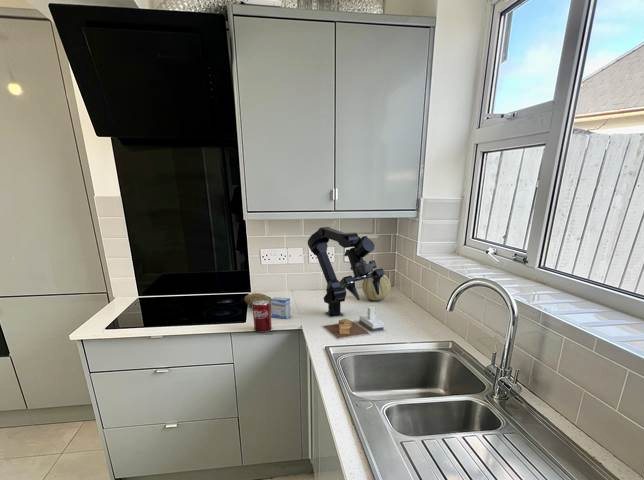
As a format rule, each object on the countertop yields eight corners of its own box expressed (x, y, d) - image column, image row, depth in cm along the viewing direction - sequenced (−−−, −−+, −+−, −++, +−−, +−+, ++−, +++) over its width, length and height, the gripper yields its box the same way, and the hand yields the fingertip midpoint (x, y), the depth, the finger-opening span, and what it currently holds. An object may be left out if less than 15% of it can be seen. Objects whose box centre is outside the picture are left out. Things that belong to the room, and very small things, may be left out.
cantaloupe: (395, 299, 214) (397, 271, 209) (378, 305, 205) (379, 276, 199) (373, 294, 224) (374, 267, 218) (356, 300, 214) (356, 271, 208)
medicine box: (271, 317, 188) (270, 299, 184) (275, 314, 191) (274, 296, 188) (286, 318, 185) (285, 300, 182) (290, 316, 189) (290, 298, 186)
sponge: (277, 314, 196) (269, 295, 212) (274, 300, 191) (266, 282, 207) (251, 321, 194) (245, 302, 209) (247, 307, 189) (241, 289, 204)
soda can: (266, 333, 167) (264, 305, 162) (251, 331, 169) (248, 304, 165) (274, 328, 173) (273, 301, 169) (259, 326, 176) (257, 299, 171)
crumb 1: (338, 326, 174) (338, 320, 173) (345, 325, 176) (345, 318, 175) (344, 329, 171) (344, 322, 170) (351, 327, 173) (351, 320, 172)
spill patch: (323, 326, 175) (323, 326, 175) (352, 322, 180) (352, 321, 180) (337, 338, 161) (337, 338, 161) (369, 334, 166) (369, 333, 166)
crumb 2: (339, 330, 169) (339, 324, 168) (348, 330, 169) (348, 323, 168) (339, 334, 165) (339, 327, 164) (349, 334, 166) (349, 327, 164)
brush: (359, 322, 180) (359, 304, 176) (369, 321, 181) (369, 303, 178) (372, 332, 169) (373, 312, 165) (383, 330, 170) (384, 311, 167)
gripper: (342, 259, 158) (355, 296, 157) (384, 250, 164) (396, 286, 163) (334, 269, 168) (346, 304, 167) (373, 260, 174) (385, 294, 173)
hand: (368, 297), depth 167 cm, fingers open, 9 cm apart
